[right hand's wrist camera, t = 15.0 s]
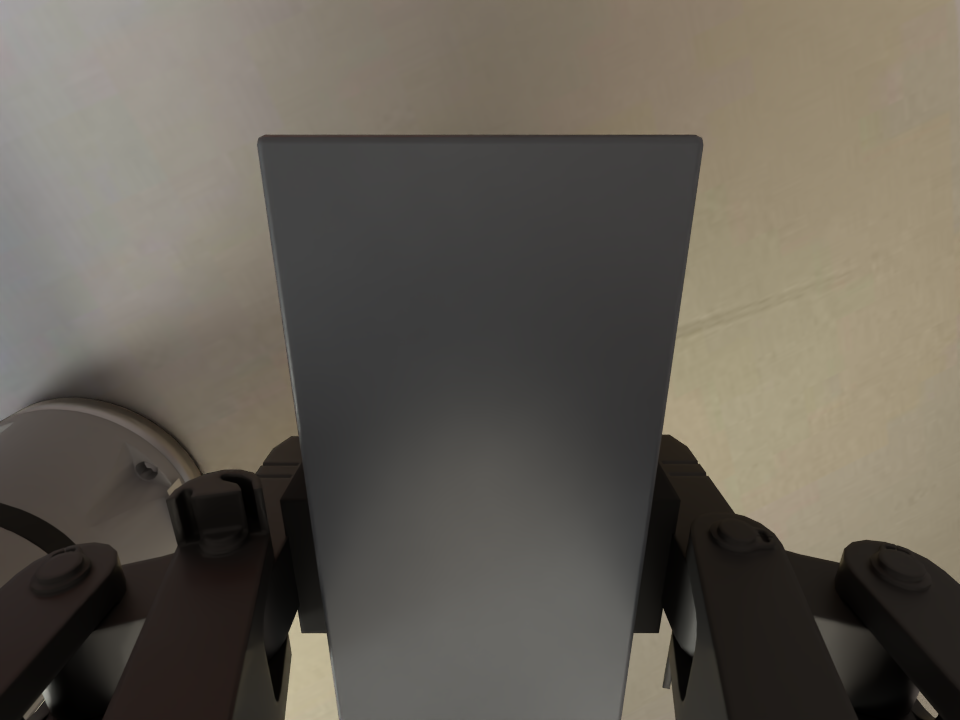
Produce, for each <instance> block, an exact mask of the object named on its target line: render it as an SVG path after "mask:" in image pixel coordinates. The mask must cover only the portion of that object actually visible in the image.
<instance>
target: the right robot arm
mask: <svg viewBox="0 0 960 720" xmlns="http://www.w3.org/2000/svg"><path fill="white" fill-rule="evenodd" d="M663 609H664V611H665V614H666V616H667V618H668V621H669V623H670V626H671V628H672V635H671V641H670V646H669V652H668V658H667V663H666V669H665V675H664V681H663V688H667V689H670V684H671V681H672V691H673V700H674V709H675V718H676V720H960V584H959V583H958V582H956V581H955V580H954V579H953V578H952V577H951V576H950V575H948V574H947V573H946V572H945V571H944V570H942V569H941V568H940V567H938V566H937V565H935V564H934V563H933V562H931V561H930V560H928V559H927V558H925V557H923V556H921V555H919V554H916V553H914V552H912V551H910V550H909V549H907V548H904V547H901V546H898V545H897V546H896V545H895V544H890V543H887V542H880V541H871V540H863V541H857V542H852V543H851V544H849V545H848V546H847V547H846V548H845V549H844V551H843V554H842V558H841V561H840V563H838V562H833V561H829V560H824V559H819V558H815V557H810V556H805V555H800V554H797V553H793V552H790V551H786V550H785V549H784V547H783V545H782V543H781V542H780V541H779V539H778V538H777V537H776V535H775V534H774V533H773V532H772V531H770V530H769V529H768V528H766V527H765V526H764V525H762V524H761V523H759V522H756V521H754V520H752V519H750V518H748V517H745V516H742V515H738V514H735V513H734V511H733V510H732V509H731V507H730V506H729V504H728V503H727V502H726V500H725V499H724V497H723V496H722V495H721V493H720V492H719V490H718V489H717V488H716V486H715V485H714V483H713V482H712V481H711V479H710V478H709V476H706V472H705V471H704V469H703V468H702V467H701V465H700V464H698V461H697V460H696V458H695V457H694V455H693V454H692V452H691V451H690V450H689V448H688V447H687V446H685V445H684V444H682V443H681V442H679V441H678V440H677V439H675V438H674V437H672V436H671V435H662V437H661V444H660V451H659V458H658V465H657V472H656V479H655V486H654V493H653V500H652V507H651V514H650V521H649V528H648V535H647V541H646V548H645V555H644V562H643V569H642V576H641V583H640V590H639V597H638V604H637V611H636V618H635V625H634V632H633V633H659V629H660V623H661V617H662V611H663ZM297 610H298V614H299V620H300V626H301V632H302V633H327V631H326V624H325V617H324V610H323V603H322V596H321V589H320V582H319V575H318V568H317V561H316V554H315V547H314V540H313V533H312V526H311V519H310V512H309V505H308V498H307V491H306V484H305V477H304V470H303V463H302V456H301V449H300V442H299V436H291V437H290V438H288V439H287V440H285V441H284V442H282V443H281V444H279V445H278V446H276V447H275V448H273V450H272V451H271V452H270V454H269V455H268V457H267V458H266V460H265V461H264V462H263V466H261V467H260V468H259V469H258V471H257V472H256V474H254V473H253V472H248V471H244V470H221V471H216V472H211V473H207V474H204V475H201V474H200V472H199V470H198V468H197V466H196V465H195V463H194V462H193V460H192V459H191V457H190V456H189V455H188V453H187V452H186V451H185V450H184V449H183V448H182V446H181V445H180V444H179V443H178V442H177V441H176V440H175V439H174V438H172V437H171V436H170V435H169V434H168V433H167V432H165V431H164V430H163V429H162V428H160V427H159V426H157V425H156V424H154V423H153V422H151V421H150V420H148V419H146V418H144V417H143V416H141V415H139V414H137V413H135V412H133V411H131V410H128V409H125V408H123V407H120V406H117V405H114V404H111V403H108V402H103V401H99V400H94V399H86V398H57V399H50V400H46V401H41V402H38V403H35V404H33V405H30V406H28V407H26V408H24V409H22V410H20V411H18V412H16V413H15V414H13V415H11V416H9V417H7V418H6V419H4V420H2V421H0V720H284V719H285V710H286V701H287V692H288V683H289V673H290V664H291V655H292V654H291V647H290V641H289V635H288V632H289V630H290V627H291V625H292V622H293V620H294V617H295V615H296V612H297ZM919 691H920V692H921V693H922V694H923V696H924V697H925V698H926V699H927V700H928V702H929V703H930V704H931V705H932V706H933V708H934V709H935V710H936V711H937V712H938V716H937V717H936V718H934V717H933V716H932V715H931V714H930V713H929V712H928V711H927V710H926V709H925V708H924V707H923V706H922V705H921V703H920V702H919V701H918V700H917V696H918V693H919ZM44 700H45V701H44ZM43 701H44V702H43ZM42 702H43V703H42ZM41 703H42V705H41ZM40 705H41V706H40ZM39 706H40V707H39ZM38 707H39V708H38ZM37 709H38V710H37ZM36 710H37V711H36ZM35 711H36V712H35ZM34 712H35V713H34Z"/></svg>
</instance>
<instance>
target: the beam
mask: <svg viewBox="0 0 960 720" xmlns="http://www.w3.org/2000/svg"><path fill="white" fill-rule="evenodd" d="M257 147H258V154H259V161H260V168H261V175H262V182H263V189H264V196H265V203H266V210H267V217H268V224H269V231H270V238H271V245H272V252H273V259H274V266H275V273H276V280H277V287H278V294H279V301H280V308H281V315H282V322H283V329H284V336H285V343H286V350H287V358H288V365H289V372H290V379H291V386H292V393H293V400H294V407H295V414H296V421H297V428H298V435H299V442H300V449H301V456H302V463H303V470H304V477H305V484H306V491H307V498H308V505H309V512H310V519H311V526H312V533H313V540H314V547H315V554H316V561H317V568H318V575H319V582H320V589H321V596H322V603H323V610H324V617H325V624H326V631H327V638H328V645H329V652H330V659H331V666H332V673H333V680H334V687H335V694H336V701H337V708H338V715H339V720H621V716H622V709H623V702H624V695H625V688H626V681H627V674H628V667H629V660H630V653H631V646H632V639H633V632H634V625H635V618H636V611H637V604H638V597H639V590H640V583H641V576H642V569H643V562H644V555H645V548H646V541H647V535H648V528H649V521H650V514H651V507H652V500H653V493H654V486H655V479H656V472H657V465H658V458H659V451H660V444H661V437H662V430H663V423H664V416H665V409H666V402H667V395H668V388H669V381H670V374H671V367H672V360H673V353H674V346H675V339H676V332H677V325H678V318H679V311H680V304H681V297H682V290H683V283H684V276H685V269H686V262H687V255H688V248H689V241H690V234H691V227H692V220H693V213H694V206H695V199H696V193H697V186H698V179H699V172H700V165H701V158H702V151H703V140H702V138H701V137H699V136H697V135H264V136H262V137H259V138H258V143H257Z"/></svg>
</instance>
